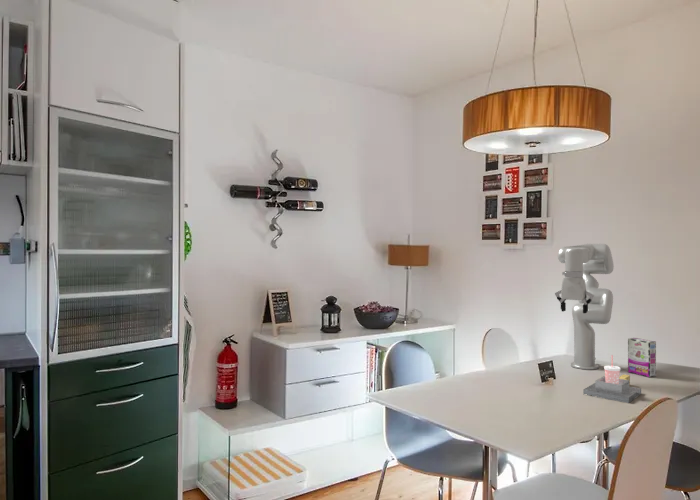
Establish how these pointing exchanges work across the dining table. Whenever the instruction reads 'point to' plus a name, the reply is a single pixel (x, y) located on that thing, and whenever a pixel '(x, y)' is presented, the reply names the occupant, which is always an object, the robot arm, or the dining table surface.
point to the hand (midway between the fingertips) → (574, 312)
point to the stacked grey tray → (613, 390)
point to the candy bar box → (642, 357)
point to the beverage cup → (612, 373)
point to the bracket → (625, 377)
